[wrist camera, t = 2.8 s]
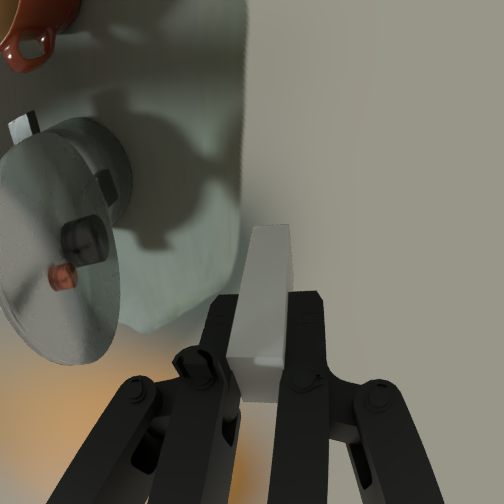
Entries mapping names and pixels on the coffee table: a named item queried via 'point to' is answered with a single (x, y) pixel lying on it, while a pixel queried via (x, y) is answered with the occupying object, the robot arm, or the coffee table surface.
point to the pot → (89, 156)
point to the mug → (33, 28)
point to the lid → (56, 252)
